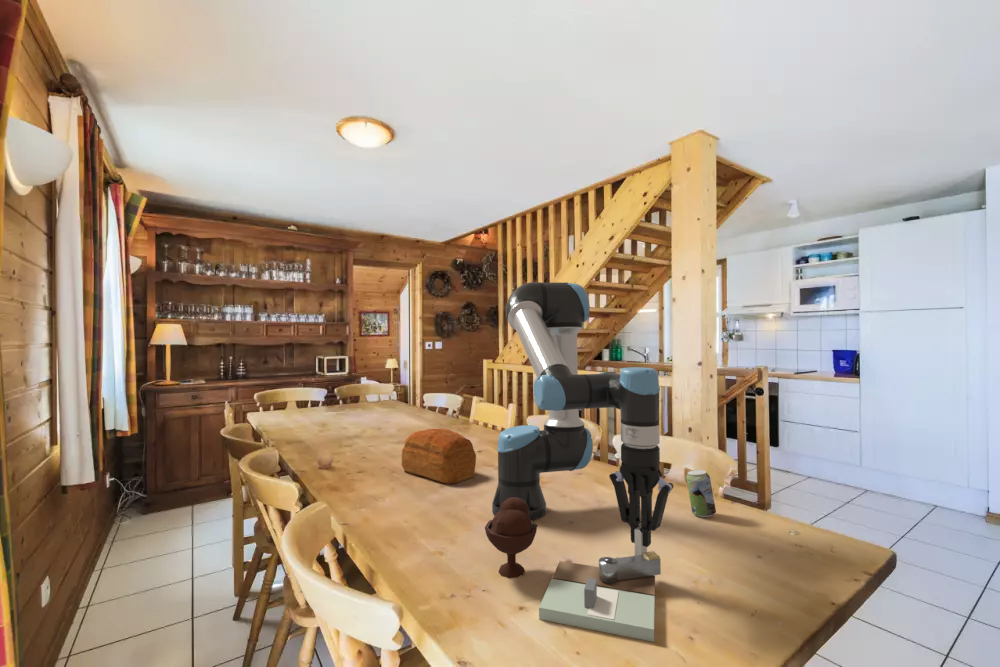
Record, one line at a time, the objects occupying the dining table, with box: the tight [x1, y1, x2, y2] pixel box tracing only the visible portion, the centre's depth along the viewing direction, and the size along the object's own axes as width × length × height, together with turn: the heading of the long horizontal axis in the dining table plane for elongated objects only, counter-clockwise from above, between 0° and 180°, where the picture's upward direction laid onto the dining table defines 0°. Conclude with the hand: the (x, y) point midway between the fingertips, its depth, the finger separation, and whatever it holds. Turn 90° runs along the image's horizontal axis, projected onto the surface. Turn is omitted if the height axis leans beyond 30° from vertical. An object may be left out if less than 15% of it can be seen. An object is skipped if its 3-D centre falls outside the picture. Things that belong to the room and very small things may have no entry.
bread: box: [401, 428, 477, 485], centre depth 166 cm, size 16×27×16 cm, turn 49°
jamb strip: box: [551, 560, 656, 597], centre depth 91 cm, size 19×7×2 cm, turn 71°
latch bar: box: [598, 551, 662, 583], centre depth 90 cm, size 12×4×4 cm, turn 103°
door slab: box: [538, 578, 656, 643], centre depth 82 cm, size 19×10×5 cm, turn 71°
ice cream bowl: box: [484, 497, 538, 579], centre depth 97 cm, size 11×11×15 cm
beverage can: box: [685, 469, 717, 518], centre depth 126 cm, size 6×7×12 cm
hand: (641, 559), depth 94 cm, fingers closed
